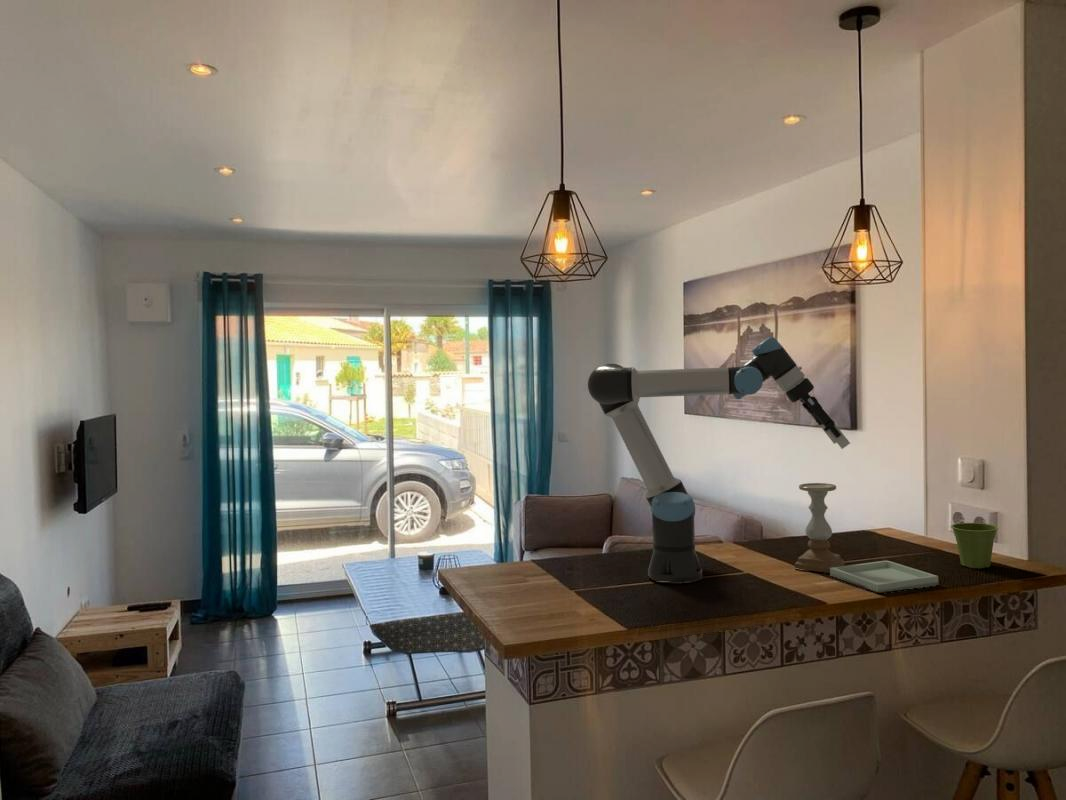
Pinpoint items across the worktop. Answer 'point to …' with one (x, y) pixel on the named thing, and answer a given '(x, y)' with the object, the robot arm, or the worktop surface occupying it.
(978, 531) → the plant pot
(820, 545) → the candle holder
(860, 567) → the tray
